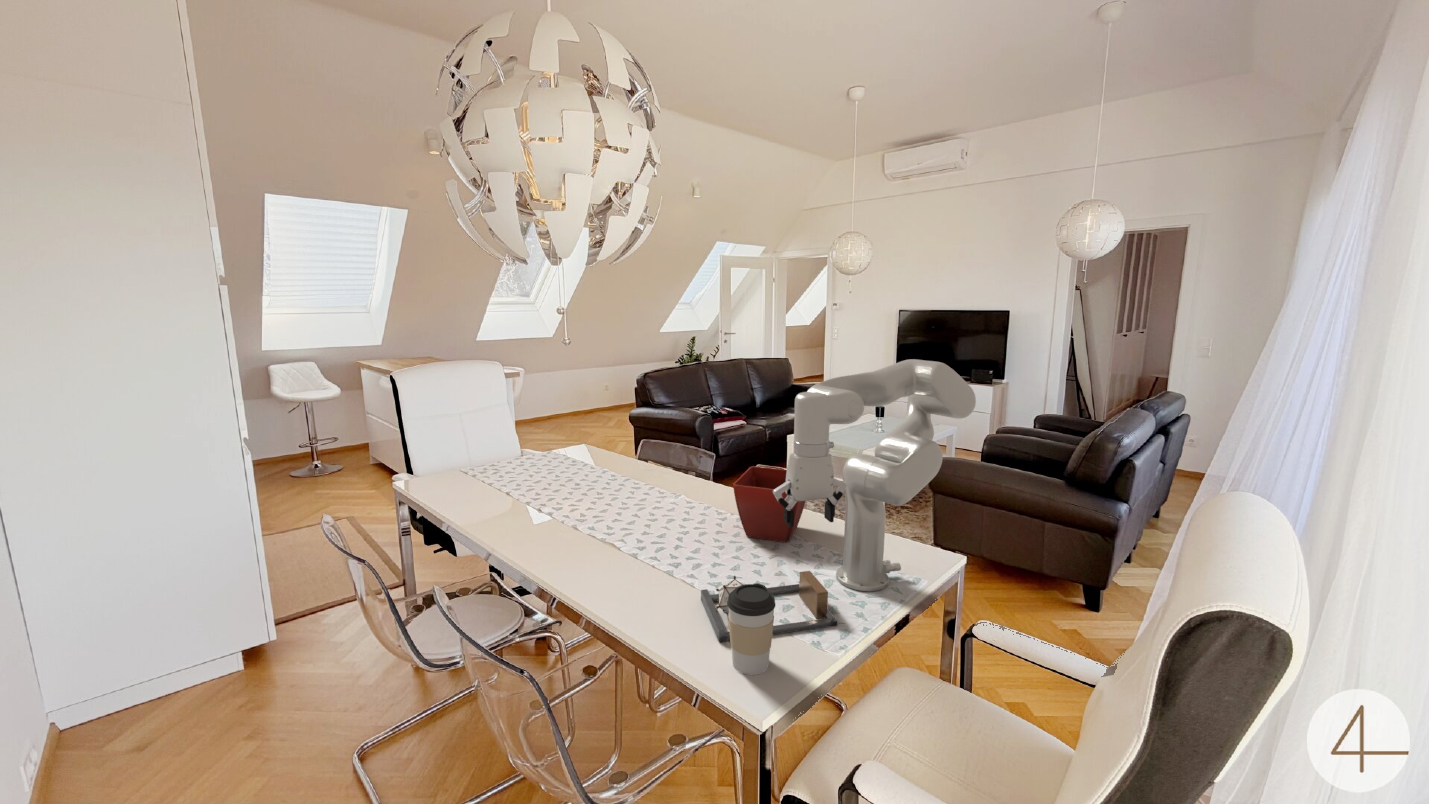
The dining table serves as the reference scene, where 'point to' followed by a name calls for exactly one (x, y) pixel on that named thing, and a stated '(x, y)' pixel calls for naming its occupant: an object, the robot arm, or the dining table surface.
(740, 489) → the plant pot
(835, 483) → the robot arm
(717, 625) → the frame
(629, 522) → the dining table surface
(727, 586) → the game die
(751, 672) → the coffee cup
